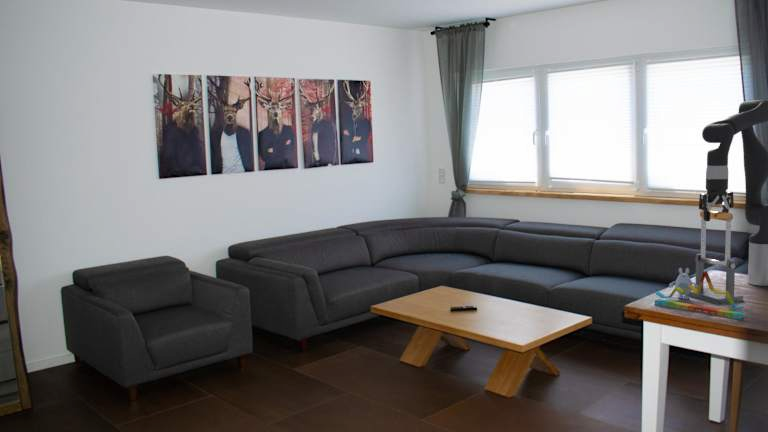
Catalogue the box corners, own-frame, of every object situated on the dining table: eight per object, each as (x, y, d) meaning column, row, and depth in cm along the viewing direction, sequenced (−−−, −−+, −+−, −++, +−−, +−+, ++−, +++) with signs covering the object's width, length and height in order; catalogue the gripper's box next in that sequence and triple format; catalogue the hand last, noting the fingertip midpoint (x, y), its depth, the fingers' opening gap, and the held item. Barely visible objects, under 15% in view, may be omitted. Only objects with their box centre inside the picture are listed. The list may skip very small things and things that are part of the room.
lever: (704, 261, 268) (706, 209, 265) (731, 267, 255) (733, 212, 253) (698, 262, 267) (699, 210, 264) (725, 267, 254) (726, 213, 252)
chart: (654, 305, 256) (654, 266, 254) (658, 303, 258) (659, 264, 257) (739, 320, 234) (740, 277, 232) (743, 318, 236) (744, 275, 234)
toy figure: (667, 299, 263) (668, 268, 262) (669, 295, 269) (669, 265, 267) (698, 301, 258) (698, 270, 257) (698, 297, 264) (699, 267, 263)
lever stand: (708, 291, 273) (709, 252, 271) (745, 301, 256) (746, 259, 254) (684, 294, 269) (685, 254, 267) (719, 305, 252) (720, 262, 250)
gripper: (724, 175, 263) (722, 217, 265) (694, 177, 258) (693, 220, 260) (739, 176, 256) (738, 219, 258) (709, 179, 251) (708, 222, 253)
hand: (715, 220), depth 259 cm, fingers open, 8 cm apart
